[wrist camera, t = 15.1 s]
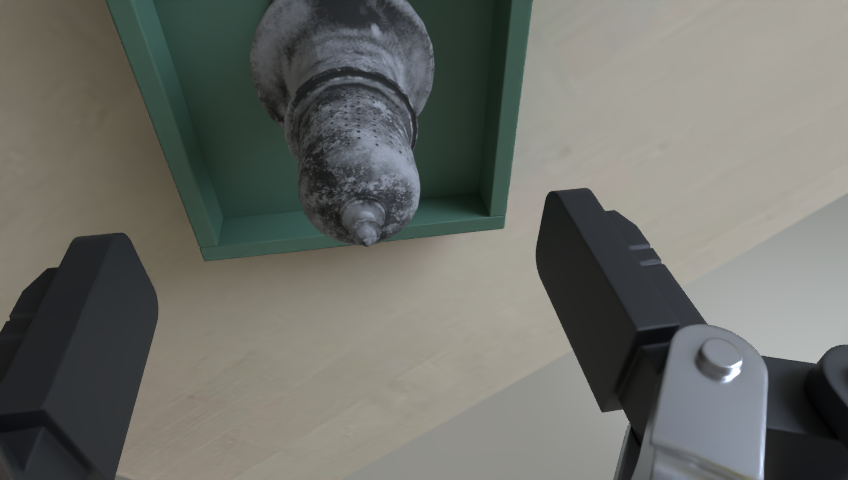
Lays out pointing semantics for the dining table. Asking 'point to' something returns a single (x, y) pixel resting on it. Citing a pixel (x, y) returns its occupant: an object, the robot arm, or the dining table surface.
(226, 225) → the tray
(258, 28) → the salt shaker
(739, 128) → the dining table surface
